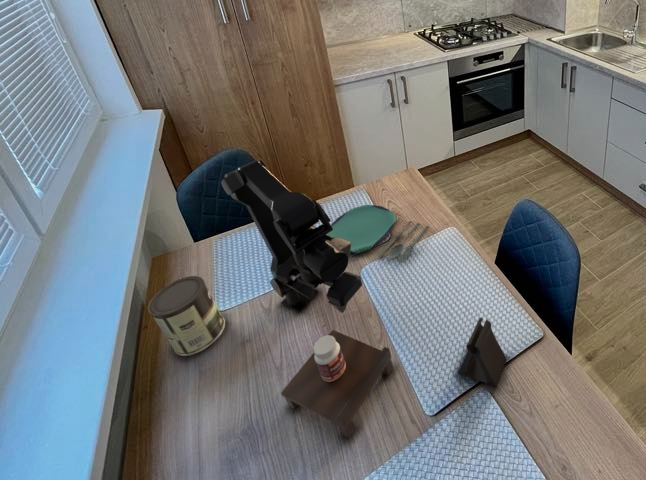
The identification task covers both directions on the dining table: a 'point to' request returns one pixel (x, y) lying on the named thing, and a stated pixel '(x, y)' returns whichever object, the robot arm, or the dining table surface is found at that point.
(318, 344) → the pill bottle
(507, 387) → the dining table surface
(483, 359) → the phone stand
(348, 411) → the shelf
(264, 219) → the robot arm
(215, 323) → the coffee can
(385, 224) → the cutlery set
